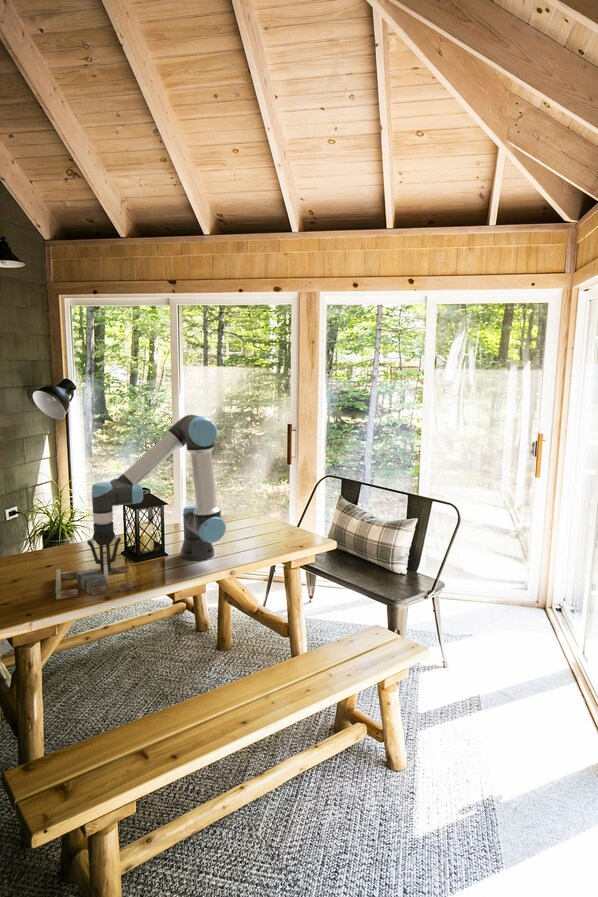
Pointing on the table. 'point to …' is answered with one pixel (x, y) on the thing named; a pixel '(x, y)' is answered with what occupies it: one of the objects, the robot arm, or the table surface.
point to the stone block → (91, 580)
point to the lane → (94, 590)
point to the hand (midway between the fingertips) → (106, 579)
